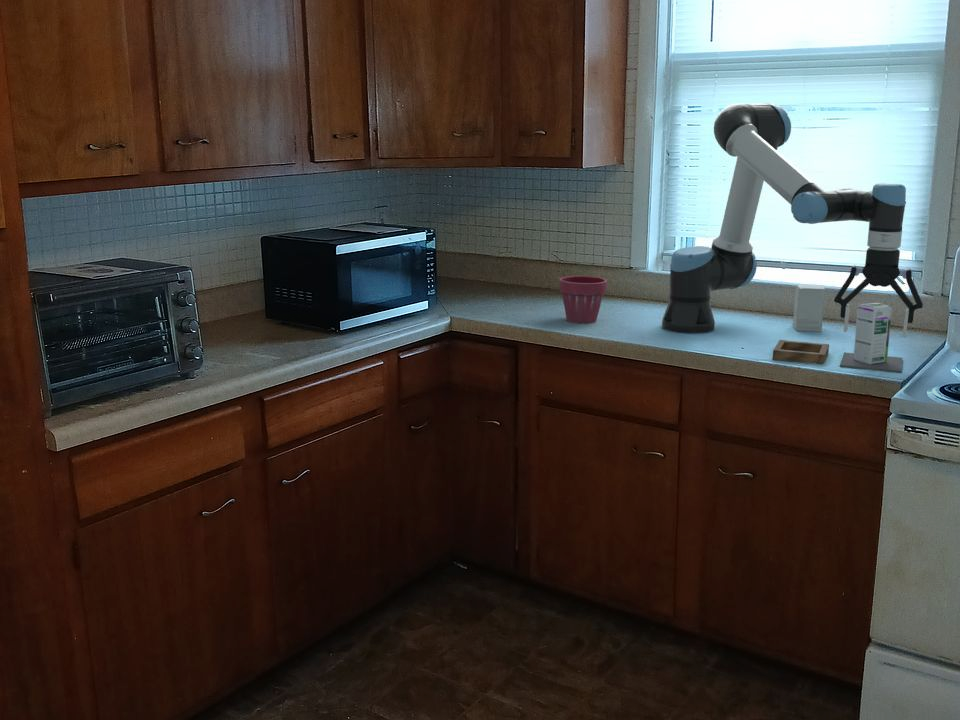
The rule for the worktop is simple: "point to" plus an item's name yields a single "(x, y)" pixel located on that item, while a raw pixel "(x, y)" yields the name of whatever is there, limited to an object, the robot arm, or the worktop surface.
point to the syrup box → (872, 333)
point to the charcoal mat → (891, 365)
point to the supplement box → (809, 307)
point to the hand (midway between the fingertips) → (874, 333)
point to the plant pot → (582, 297)
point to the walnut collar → (801, 352)
